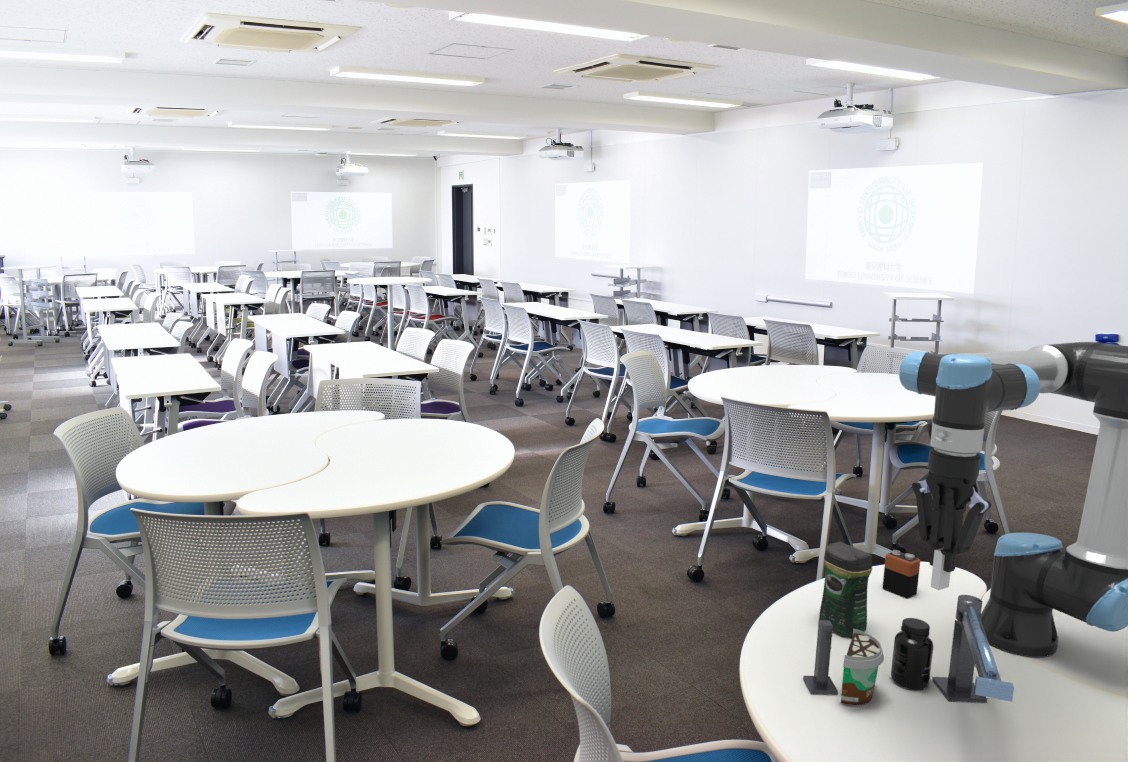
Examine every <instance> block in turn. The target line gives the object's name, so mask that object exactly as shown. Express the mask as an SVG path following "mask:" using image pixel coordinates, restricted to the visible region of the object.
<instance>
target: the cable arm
mask: <svg viewBox="0 0 1128 762" xmlns="http://www.w3.org/2000/svg"><path fill="white" fill-rule="evenodd" d="M982 608H983V600H982V599H980V598H979V597H977V596H974V595H971V594H960V595H958V597H957V604H956V612H955V620H958V621H960V622H962V623H963V625H964V629H965V632H966V635H967V639H968V642H969V645H970V649H971V652H972V656H973V659H974V662H975V666H974V667H975V668H976V669H975V670H976V672H977V676H975V681H974V684H975V687H974V692H975V695H980V696H985V697H986V698H991V699H996V700H1001V701H1007V702H1013V698H1014V691H1015V686H1014V683H1013V682H1009V681H1004V680H1002V679H1001V675H1000V672H999V670H998V666H997V664H996V661H995V657H994V655H993V652H992V649H991V647H990V646H991V645H990V644H989V643H988V640H987V637H986V634H985V632H984V629H983V626H982V623H981V620H980V617H981V613H982V610H983V609H982Z"/></svg>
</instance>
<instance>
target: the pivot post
mask: <svg viewBox="0 0 1128 762" xmlns="http://www.w3.org/2000/svg"><path fill="white" fill-rule="evenodd" d="M951 642H952V643H951V644H952V645H951V649H950V661H949V669H948V675H947V676H932V677H931V681H932V683H933V684H934V685H935V687H937V689H938V690H939V692H940V693H942V695H943V696H944V698H945V699H946V700H947V702H956V703H981V704H988V697H985V696H980V695H975V692H974V687H975V682H973V679H974V674H975V673H974V672H975V667H976V666H975V662H974V659H973V656H972V652H971V649H970V645H969V642H968V639H967V635H966V632H965V629H964V625H963V623H962V622H960V621H958V620H957V619H955V620H954V625H953V634H952V641H951Z"/></svg>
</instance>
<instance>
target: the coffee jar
mask: <svg viewBox="0 0 1128 762" xmlns="http://www.w3.org/2000/svg"><path fill="white" fill-rule="evenodd" d="M823 564H824V571H825V572H824V583H823V590H822V591H823V592H822V597H821V601H820V602H821V604H820V606H819V607H820V609H819V615H818V621H819V620H827V621H830V622H831V624H832V625H833V630H832V632H834V633H836V634H839V635H840V636H842V637H843V636H844V637H853V629H857V630H860V631H863V632H865V633H866V631H867V627H868V624H867V623H868V585H869V578H870V575H871V573H872V572H873V556H872V554H871V553H869V552H867V551H865V550H862V549H860V548H857V547H855V546H852V545H849V544H846V543H844V542H843V541H837V542H833V543H829V544H828V545H827V547H826V549H825V553H824V557H823Z"/></svg>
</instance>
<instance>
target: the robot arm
mask: <svg viewBox="0 0 1128 762" xmlns="http://www.w3.org/2000/svg"><path fill="white" fill-rule="evenodd" d="M898 378H899V381H900V384H901V385H902V387H903V388H904V389H906V390H907V391H910V392H914V393H917V394H918V395H926V396H931V397H935V399H934V411H933V416H932V424H931V426H932V427H931V435H930V446H931V447H932V448H930V450H929V451H928V458H927V459H928V461H927V470H928V473H927V475H926V476H925V479H924V480H921V481H916V482H912V484H911V488H912V491H913V492H914V495H915V497H916V498H915V499H916V507H917V517H918V527H919V537H920V540H921V541H922V542H925V543H927V544H928V545H929V547H930V551H929V552H930V553H929V559H928V563H929V566H932V568H931V569H932V571H931V577H930V578H931V580H930V588H932V589H935V590H937V591H941V590H944V589H948V588H949V587H950V580H951V573H952V572H954V571H955V570H956V566H957V559H958V558H957V557H958V555H960V554H965V553H968V552H970V551H971V547H972V546H973V543H974V541H975V537H976V535H977V533H978V530H979V527H980V525H981V523H982V520H983V517H984V515H985V513H986V512H988V510H989V509H990V508H991V507H992V502H991V501H989V500H984V499H983V497H981V496H980V494H978V493H979V487H978V484H977V479H978V478H979V475H980V467H981V458H982V457H981V455H980V454H979V453H981V452H982V450H983V444H984V443H983V441H984V434H985V423H986V417H987V416H986V415H987V413H991V412H1001V411H1002V412H1003V411H1014V410H1015V411H1016V410H1018V409H1021V408H1026V407H1028V406H1031V405H1033V403H1034V402H1036V400H1037V399H1038V397H1039V395H1040V394H1053V395H1059V396H1064V397H1069V398H1071V399H1072V398H1073V399H1077V400H1081V401H1086V402H1089V403H1090V402H1091V403H1094V405H1093V410H1092V414H1093V415H1094V417H1095V418H1096V419H1097V420H1098V423H1099V430H1098V434H1097V439H1096V443H1095V444H1096V445H1095V448H1094V449H1095V450H1094V455H1093V459H1092V463H1091V469H1090V473H1089V479H1088V485H1087V490H1086V494H1085V499H1084V505H1083V510H1082V515H1081V519H1080V525H1079V529H1078V535H1077V540H1076V542H1074V543H1071V544H1070V545H1067V547H1066V548H1065V551H1063V549H1064V546H1063V543H1062V541H1061V540H1060V539H1058V538H1057V537H1054V536H1050V535H1047V534H1041V533H1035V532H1010V533H1006V534H1003V535H1001V536H1000V537H999V538H998V539H997V543H996V547H995V550H994V553H993V555H994V557H993V558H994V559H993V565H992V566H993V567H992V573H991V582H990V592H989V598H988V601H987V602H986V604H985V606H984V607H983V609H982V610H981V617H980V620H981V623H982V626H983V629H984V632H985V634H986V637H987V640H988V643H989V646H992V647H994V648H996V649H999V650H1002V651H1004V652H1007V653H1011V654H1013V655H1014V654H1015V655H1018V656H1023V657H1031V658H1042V657H1043V658H1044V657H1050V656H1052V655H1054V654H1056V653H1057V650H1058V646H1059V635H1058V632H1057V627H1056V623H1055V618H1054V614H1053V610H1055V611H1058V612H1060V613H1062V614H1065V615H1067V616H1069V617H1071V618H1074V619H1076V620H1078V621H1081V622H1082V623H1085V624H1086V625H1087V626H1091V627H1095V628H1098V629H1102V630H1103V631H1104V630H1105V631H1106V632H1112V633H1113V632H1118V631H1122V630H1124V629H1126V628H1127V627H1128V345H1122V344H1112V343H1103V342H1098V341H1097V342H1096V341H1095V342H1094V341H1078V342H1065V343H1063V342H1062V343H1052V344H1039V345H1035V346H1032V347H1031V348H1029V349H1027V350H1013V351H989V352H988V351H987V352H986V351H985V352H962V353H931V352H929V351H924V352H923V351H911V352H910V353H908V354H907V355H906V356H905V357H903V360H902V361H901V362H900V366H899V374H898ZM969 503H970V504H969ZM967 504H969V510H968V511H967V513H966V510H967ZM965 513H966V516H965V519H964V514H965ZM963 520H964V521H963Z"/></svg>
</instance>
